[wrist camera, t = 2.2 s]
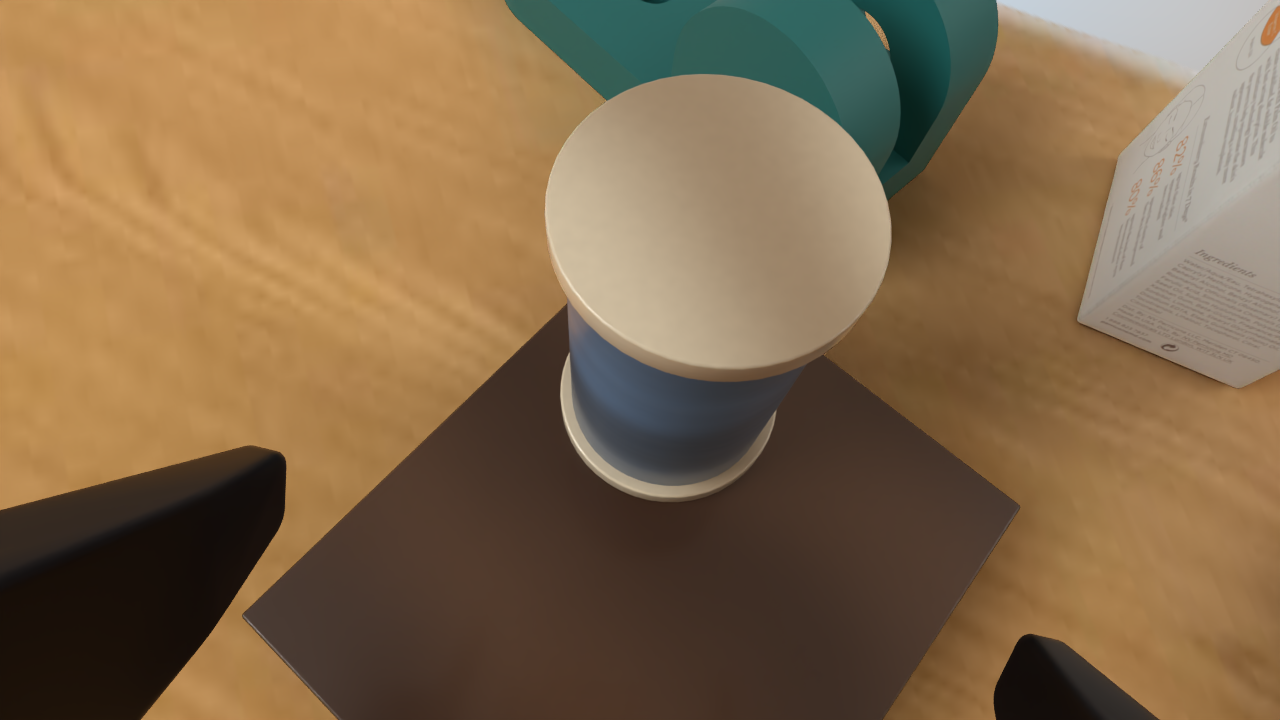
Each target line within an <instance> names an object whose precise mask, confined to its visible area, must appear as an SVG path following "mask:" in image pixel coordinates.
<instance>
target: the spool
mask: <svg viewBox="0 0 1280 720" xmlns="http://www.w3.org/2000/svg"><path fill="white" fill-rule="evenodd" d="M545 223H546V234H547V243H548V251H549V254H550V258H551V262H552V266H553V269H554V272H555V274H556V276H557V278H558V281H559V283H560V285H561V288H562V289H563V291H564V293H565V294H566V296H567V306H568V327H569V348H570V352H569V354H568V356H567V359H566V362H565V365H564V368H563V373H562V378H561V389H560V398H561V409H562V416H563V420H564V424H565V428H566V431H567V433H568V436H569V438H570V441H571V443H572V444H573V446H574V448H575V450H576V451H577V453H578V454H579V456H580V457H581V458H582V460H583V461H584V462H585V463H586V465H587V466H588V467H589V468H590V469H591V470H592V471H593V472H594V473H595V474H596V475H598V476H599V477H600V478H602V479H603V480H604V481H606V482H607V483H608V484H610V485H612V486H613V487H615V488H617V489H619V490H620V491H623V492H625V493H627V494H630V495H632V496H635V497H639V498H642V499H646V500H651V501H658V502H684V501H692V500H696V499H700V498H703V497H707V496H709V495H712V494H714V493H716V492H719V491H721V490H722V489H724V488H726V487H728V486H729V485H731V484H732V483H734V482H735V481H736V480H737V479H739V478H740V477H741V476H742V475H743V474H744V473H745V472H746V471H747V470H748V469H749V468H750V467H751V466H752V465H753V463H754V462H755V461H756V459H757V458H758V456H759V455H760V454H761V452H762V451H763V449H764V447H765V445H766V444H767V442H768V440H769V438H770V435H771V432H772V429H773V426H774V422H775V417H776V410H777V408H778V406H779V405H780V403H781V402H782V400H783V399H784V397H785V396H786V394H787V393H788V391H789V390H790V388H791V387H792V385H793V384H794V382H795V381H796V380H797V378H798V377H799V375H800V374H801V372H802V371H803V369H804V368H805V366H806V365H807V363H809V362H811V361H812V360H814V359H816V358H818V357H820V356H821V355H823V354H824V353H825V352H827V351H828V350H829V349H831V348H832V347H833V346H835V345H836V344H837V343H839V342H840V341H841V339H842V338H843V337H844V336H845V335H846V334H847V333H848V332H849V331H850V330H851V329H852V328H853V327H854V326H855V324H856V323H857V321H858V320H859V319H860V317H861V316H862V315H863V313H864V312H865V310H866V309H867V308H868V306H869V305H870V303H871V302H872V301H873V299H874V298H875V296H876V294H877V292H878V290H879V288H880V286H881V284H882V282H883V279H884V276H885V272H886V269H887V266H888V263H889V257H890V250H891V219H890V213H889V206H888V202H887V199H886V196H885V192H884V189H883V186H882V184H881V182H880V180H879V177H878V175H877V173H876V171H875V169H874V167H873V166H872V164H871V162H870V161H869V159H868V158H867V156H866V155H865V153H864V151H863V150H862V149H861V148H860V147H859V145H858V144H857V143H856V142H855V141H854V139H853V138H852V137H851V136H850V135H849V134H848V133H847V132H846V131H845V130H844V129H843V128H842V127H841V126H840V125H839V124H838V123H837V122H835V121H834V120H833V119H832V118H830V117H829V116H828V115H826V114H825V113H824V112H822V111H821V110H820V109H818V108H817V107H815V106H813V105H812V104H810V103H808V102H807V101H805V100H803V99H802V98H800V97H797V96H795V95H793V94H791V93H789V92H787V91H785V90H782V89H780V88H777V87H774V86H771V85H768V84H766V83H762V82H758V81H754V80H750V79H746V78H741V77H734V76H727V75H714V74H694V75H680V76H674V77H668V78H662V79H658V80H655V81H651V82H648V83H644V84H641V85H639V86H636V87H634V88H631V89H629V90H627V91H624V92H622V93H620V94H619V95H617V96H615V97H613V98H612V99H610V100H608V101H606V102H605V103H604V104H602V105H601V106H600V107H598V108H597V109H596V110H594V111H593V112H591V113H590V114H589V115H588V116H587V117H586V118H585V119H584V120H583V121H582V122H581V123H580V124H579V125H578V126H577V127H576V129H575V130H574V131H573V133H572V134H571V135H570V136H569V138H568V139H567V140H566V142H565V143H564V145H563V147H562V149H561V151H560V152H559V154H558V156H557V158H556V160H555V163H554V165H553V168H552V171H551V173H550V176H549V181H548V186H547V190H546V197H545Z"/></svg>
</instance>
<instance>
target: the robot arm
mask: <svg viewBox="0 0 1280 720" xmlns="http://www.w3.org/2000/svg"><path fill="white" fill-rule="evenodd" d="M285 488H286V460H285V457H284V456H283V455H282V454H281V453H280V452H277V451H273V450H269V449H265V448H261V447H257V446H250V445H249V446H244V447H240V448H236V449H232V450H229V451H225V452H221V453H217V454H213V455H210V456H206V457H202V458H198V459H194V460H190V461H187V462H183V463H179V464H175V465H171V466H168V467H164V468H160V469H156V470H152V471H148V472H145V473H141V474H137V475H133V476H129V477H126V478H122V479H118V480H114V481H110V482H106V483H103V484H99V485H95V486H91V487H87V488H84V489H80V490H76V491H72V492H68V493H64V494H61V495H57V496H53V497H49V498H45V499H42V500H38V501H34V502H30V503H26V504H22V505H19V506H15V507H11V508H7V509H3V510H0V720H141V719H142V717H143V716H144V715H145V714H146V713H147V711H148V710H149V709H150V708H151V706H152V705H153V704H154V703H155V702H156V700H157V699H158V698H159V697H160V695H161V694H162V693H163V692H164V690H165V689H166V688H167V687H168V686H169V684H170V683H171V682H172V681H173V679H174V678H175V677H176V676H177V674H178V673H179V672H180V671H181V670H182V668H183V667H184V666H185V665H186V663H187V662H188V661H189V660H190V659H191V657H192V656H193V655H194V654H195V652H196V651H197V650H198V649H199V647H200V646H201V645H202V643H203V642H204V641H205V640H206V638H207V637H208V636H209V634H210V633H211V632H212V630H213V629H214V627H215V626H216V624H217V623H218V621H219V620H220V619H221V617H222V616H223V614H224V613H225V611H226V609H227V608H228V606H229V605H230V603H231V602H232V600H233V599H234V597H235V596H236V594H237V593H238V591H239V590H240V588H241V586H242V585H243V583H244V582H245V580H246V579H247V577H248V576H249V574H250V573H251V571H252V570H253V568H254V566H255V565H256V563H257V562H258V560H259V559H260V557H261V556H262V554H263V553H264V551H265V550H266V548H267V546H268V545H269V543H270V542H271V540H272V539H273V537H274V536H275V534H276V533H277V531H278V529H279V527H280V525H281V523H282V520H283V516H284V511H285ZM994 710H995V716H996V720H1159V719H1158V718H1157V717H1155V716H1154V715H1153V714H1152V713H1150V712H1149V711H1148V710H1147V709H1145V708H1144V707H1143V706H1142V705H1140V704H1139V703H1138V702H1137V701H1136V700H1134V699H1133V698H1132V697H1131V696H1129V695H1128V694H1127V693H1126V692H1124V691H1123V690H1122V689H1121V688H1119V687H1118V686H1117V685H1116V684H1115V683H1113V682H1112V681H1111V680H1110V679H1108V678H1107V677H1106V676H1105V675H1103V674H1102V673H1101V672H1100V671H1098V670H1097V669H1096V668H1095V667H1094V666H1092V665H1091V664H1090V663H1089V662H1087V661H1086V660H1085V659H1084V658H1082V657H1081V656H1080V655H1079V654H1077V653H1076V652H1075V651H1074V650H1073V649H1071V648H1070V647H1069V646H1068V645H1066V644H1065V643H1063V642H1061V641H1059V640H1055V639H1051V638H1047V637H1043V636H1038V635H1034V634H1027V635H1024V636H1022V637H1021V638H1020V639H1019V641H1018V642H1017V644H1016V646H1015V648H1014V650H1013V652H1012V654H1011V656H1010V658H1009V660H1008V662H1007V664H1006V666H1005V668H1004V670H1003V672H1002V674H1001V676H1000V678H999V680H998V682H997V685H996V688H995V691H994Z"/></svg>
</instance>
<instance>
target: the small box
mask: <svg viewBox="0 0 1280 720" xmlns="http://www.w3.org/2000/svg"><path fill="white" fill-rule="evenodd" d="M1077 321H1078V322H1079V323H1081V324H1084V325H1086V326H1089V327H1091V328H1093V329H1096V330H1098V331H1101V332H1103V333H1105V334H1108V335H1110V336H1112V337H1115V338H1117V339H1120V340H1122V341H1124V342H1127V343H1129V344H1131V345H1134V346H1136V347H1138V348H1141V349H1143V350H1146V351H1148V352H1151V353H1153V354H1156V355H1158V356H1160V357H1163V358H1165V359H1167V360H1170V361H1172V362H1175V363H1177V364H1179V365H1182V366H1184V367H1186V368H1189V369H1191V370H1194V371H1196V372H1198V373H1201V374H1203V375H1206V376H1208V377H1210V378H1213V379H1215V380H1218V381H1220V382H1222V383H1225V384H1227V385H1229V386H1232V387H1234V388H1242V387H1244V386H1247V385H1249V384H1251V383H1253V382H1255V381H1257V380H1259V379H1261V378H1263V377H1265V376H1267V375H1269V374H1271V373H1273V372H1275V371H1278V370H1280V0H1269V1H1268V2H1267V3H1266V4H1265V6H1263V7H1262V8H1261V10H1259V11H1258V13H1257V14H1256V15H1255V16H1254V17H1253V18H1252V19H1251V20H1250V21H1249V22H1248V23H1247V24H1246V25H1245V26H1244V27H1243V28H1242V29H1241V30H1240V31H1239V32H1238V33H1237V34H1236V35H1235V36H1234V37H1233V38H1232V39H1231V41H1229V42H1228V43H1227V45H1225V47H1224V48H1223V49H1222V50H1221V51H1220V52H1219V53H1218V54H1217V55H1216V56H1215V57H1214V58H1213V59H1212V60H1211V61H1210V62H1209V63H1208V64H1207V65H1206V66H1205V67H1204V68H1203V69H1202V70H1201V71H1200V72H1199V73H1198V74H1197V75H1196V76H1195V77H1194V78H1193V79H1192V80H1191V81H1190V82H1189V83H1188V85H1187V86H1186V87H1185V88H1184V89H1183V90H1182V91H1181V92H1180V93H1179V94H1178V95H1177V96H1176V97H1175V98H1174V99H1173V100H1172V101H1171V102H1170V103H1169V104H1168V105H1167V106H1166V107H1165V108H1164V109H1163V110H1162V111H1161V112H1160V113H1159V114H1158V115H1157V116H1156V117H1155V118H1154V119H1153V120H1152V121H1151V122H1150V123H1149V125H1148V126H1147V127H1146V128H1145V129H1144V130H1143V131H1142V132H1141V133H1140V134H1139V135H1138V136H1137V137H1136V138H1135V139H1134V140H1133V141H1132V142H1131V143H1130V144H1129V145H1128V146H1127V147H1126V148H1125V149H1124V150H1123V151H1122V152H1121V153H1120V155H1119V156H1118V161H1117V165H1116V169H1115V174H1114V178H1113V181H1112V185H1111V189H1110V193H1109V197H1108V201H1107V204H1106V209H1105V213H1104V217H1103V221H1102V225H1101V228H1100V232H1099V236H1098V240H1097V244H1096V248H1095V251H1094V255H1093V259H1092V263H1091V267H1090V271H1089V275H1088V279H1087V283H1086V287H1085V291H1084V295H1083V299H1082V302H1081V306H1080V310H1079V313H1078V317H1077Z"/></svg>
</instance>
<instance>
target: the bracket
mask: <svg viewBox="0 0 1280 720" xmlns="http://www.w3.org/2000/svg"><path fill="white" fill-rule="evenodd" d="M505 2H506V4H507V5H508V7H509V9H510V10H511V11H512V13H513V14H514V15H515V16H516V17H517V18H518V19H519V20H520V21H521V22H522V23H523V24H524V25H525V26H526V27H527V28H528V29H529V30H530V31H532V32H533V33H534V34H535V35H536V36H537V37H538V38H539V39H540V40H541V41H543V42H544V43H545V44H546V45H547V46H548V47H549V48H550V49H551V50H552V51H553V52H555V53H556V54H557V55H558V56H559V57H560V58H561V59H562V60H563V61H564V62H566V63H567V64H568V65H569V66H570V67H571V68H572V69H573V70H574V71H575V72H576V73H578V74H579V75H580V76H581V77H582V78H583V79H584V80H585V81H586V82H587V83H588V84H590V85H591V86H592V87H593V88H594V89H595V90H596V91H597V92H598V93H599V94H601V95H602V96H603V97H604V98H605V99H606V100H607V101H608V100H610V99H612V98H613V97H615V96H617V95H619V94H620V93H622V92H624V91H627V90H629V89H631V88H634V87H636V86H639V85H641V84H644V83H648V82H651V81H655V80H658V79H662V78H668V77H674V76H680V75H694V74H714V75H727V76H734V77H741V78H746V79H750V80H754V81H758V82H762V83H766V84H768V85H771V86H774V87H777V88H780V89H782V90H785V91H787V92H789V93H791V94H793V95H795V96H797V97H800V98H802V99H803V100H805V101H807V102H808V103H810V104H812V105H813V106H815V107H817V108H818V109H820V110H821V111H822V112H824V113H825V114H826V115H828V116H829V117H830V118H832V119H833V120H834V121H835V122H837V123H838V124H839V125H840V126H841V127H842V128H843V129H844V130H845V131H846V132H847V133H848V134H849V135H850V136H851V137H852V138H853V139H854V141H855V142H856V143H857V144H858V145H859V147H860V148H861V149H862V150H863V151H864V153H865V155H866V156H867V158H868V159H869V161H870V162H871V164H872V166H873V167H874V169H875V171H876V173H877V175H878V177H879V180H880V182H881V184H882V186H883V189H884V192H885V196H886V199H887V201H888V200H889V199H890V198H891V197H892V196H893V195H895V194H896V193H897V192H898V191H899V190H901V189H902V188H903V187H904V186H905V185H906V184H908V183H909V182H910V181H911V180H912V179H914V178H915V177H916V176H917V175H918V174H919V173H921V172H922V171H923V170H924V169H925V167H926V166H927V164H928V163H929V161H930V160H931V158H932V156H933V155H934V153H935V152H936V150H937V149H938V147H939V146H940V144H941V143H942V141H943V139H944V138H945V136H946V135H947V133H948V132H949V130H950V129H951V127H952V126H953V124H954V122H955V121H956V119H957V118H958V116H959V115H960V113H961V112H962V110H963V109H964V107H965V105H966V104H967V102H968V101H969V99H970V98H971V96H972V95H973V93H974V92H975V90H976V88H977V87H978V85H979V84H980V82H981V81H982V79H983V77H984V76H985V74H986V72H987V70H988V68H989V66H990V63H991V61H992V58H993V55H994V51H995V48H996V42H997V35H998V10H997V3H996V0H505ZM865 11H866V12H867V13H869V14H870V15H871V16H872V17H873V18H874V19H875V20H876V21H877V22H878V24H879V25H880V26H881V28H882V30H883V31H884V33H885V35H886V38H887V41H888V44H889V48H890V51H889V50H887V49H886V48H885V47H884V45H883V43H882V41H881V39H880V37H879V36H878V34H877V32H876V31H875V29H874V28H873V26H872V25H871V23H870V22H869V21H868V19H867V18H866V15H865Z"/></svg>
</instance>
